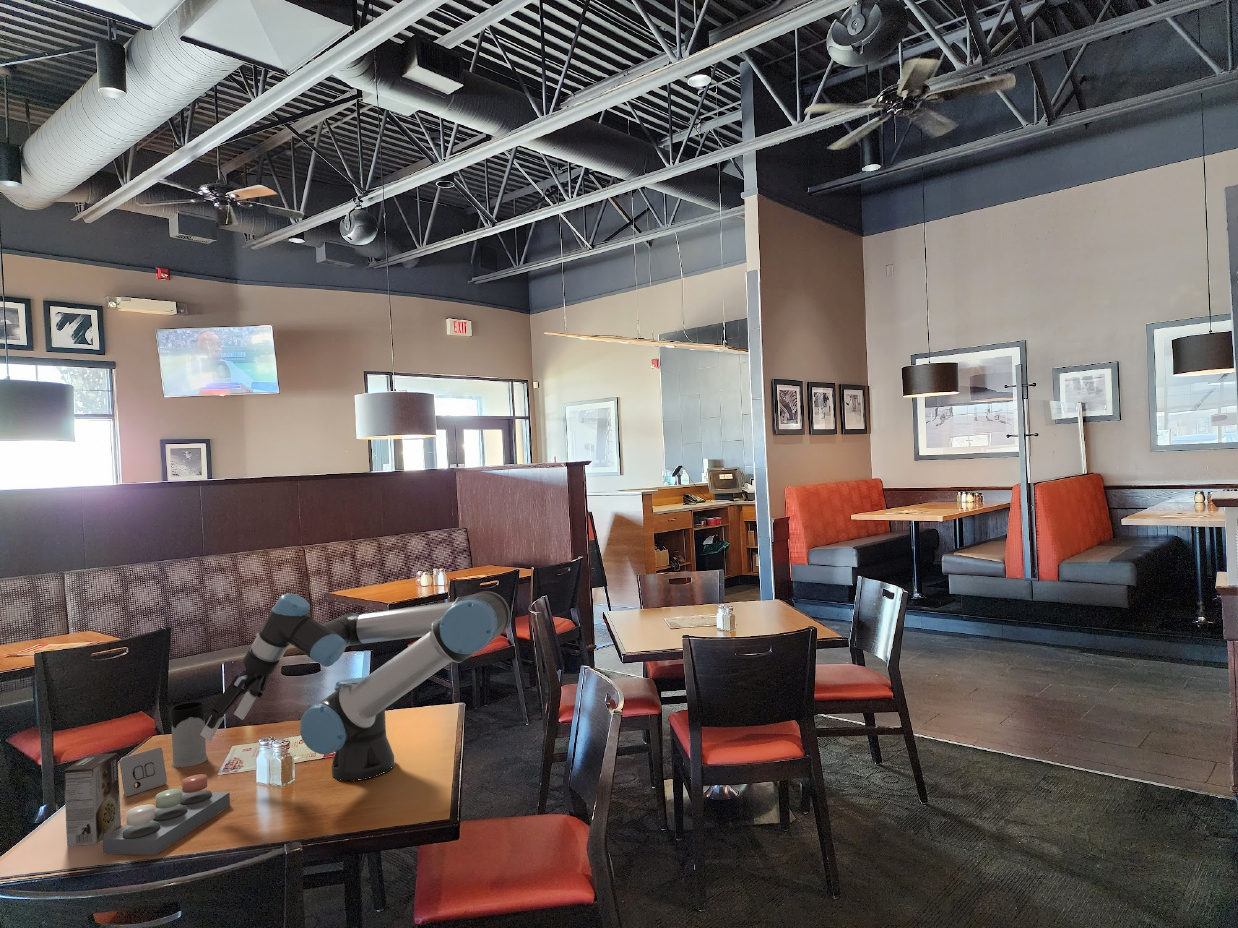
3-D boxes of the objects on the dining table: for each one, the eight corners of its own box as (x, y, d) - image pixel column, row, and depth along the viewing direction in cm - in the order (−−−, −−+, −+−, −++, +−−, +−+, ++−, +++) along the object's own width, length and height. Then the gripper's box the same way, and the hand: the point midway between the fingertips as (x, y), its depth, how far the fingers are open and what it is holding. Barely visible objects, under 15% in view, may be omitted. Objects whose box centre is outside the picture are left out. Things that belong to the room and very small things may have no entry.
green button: (187, 798, 168) (187, 788, 168) (171, 808, 163) (170, 798, 163) (167, 798, 169) (167, 788, 169) (150, 808, 164) (149, 797, 164)
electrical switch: (125, 798, 184) (122, 758, 185) (118, 795, 187) (115, 756, 188) (168, 784, 192) (165, 747, 192) (159, 782, 195) (156, 745, 195)
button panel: (230, 805, 177) (229, 789, 177) (155, 854, 154) (154, 837, 154) (183, 804, 178) (182, 789, 178) (102, 853, 156) (102, 836, 156)
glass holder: (174, 770, 201) (171, 713, 202) (165, 756, 212) (163, 702, 213) (211, 760, 207) (208, 705, 207) (200, 748, 218) (198, 695, 218)
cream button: (160, 814, 160) (160, 804, 160) (142, 825, 155) (142, 814, 155) (139, 814, 161) (139, 804, 161) (120, 825, 156) (120, 814, 156)
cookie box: (91, 827, 169) (88, 753, 169) (122, 824, 169) (119, 751, 169) (65, 847, 160) (61, 769, 160) (97, 844, 160) (94, 767, 160)
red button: (212, 783, 176) (211, 774, 176) (197, 792, 171) (196, 782, 171) (192, 783, 177) (192, 774, 177) (177, 792, 172) (176, 782, 172)
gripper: (279, 632, 197) (239, 700, 198) (221, 659, 172) (176, 737, 173) (303, 647, 196) (263, 716, 198) (249, 677, 172) (203, 755, 173)
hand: (222, 726), depth 186 cm, fingers open, 13 cm apart
